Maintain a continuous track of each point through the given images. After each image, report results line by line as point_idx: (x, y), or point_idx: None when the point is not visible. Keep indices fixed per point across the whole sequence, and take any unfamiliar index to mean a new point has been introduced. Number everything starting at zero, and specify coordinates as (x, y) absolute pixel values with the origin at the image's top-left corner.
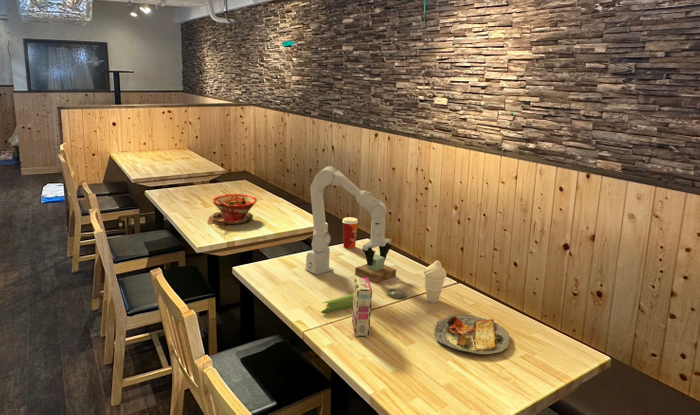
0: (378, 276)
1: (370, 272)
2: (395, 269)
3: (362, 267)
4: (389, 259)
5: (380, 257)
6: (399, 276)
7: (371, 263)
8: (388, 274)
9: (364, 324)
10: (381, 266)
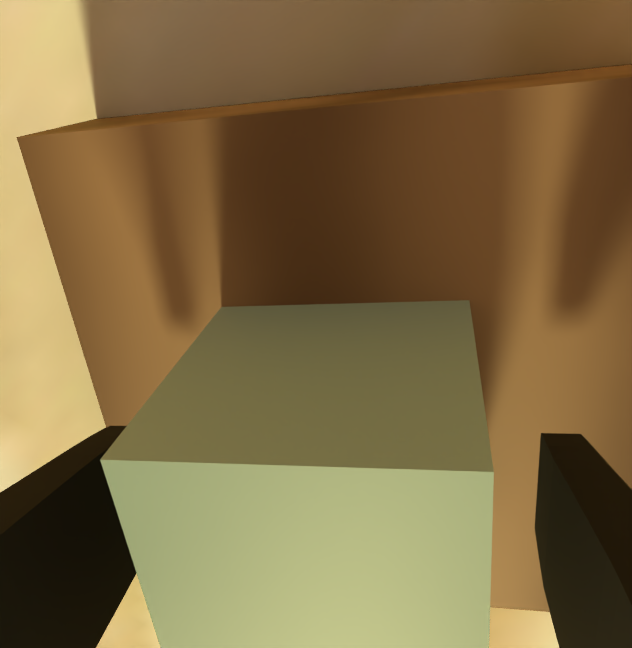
0: (602, 75)
1: (601, 324)
2: (29, 145)
3: (514, 557)
4: None
5: (210, 524)
6: (41, 73)
7: (604, 466)
8: (259, 108)
9: None
10: (279, 334)
